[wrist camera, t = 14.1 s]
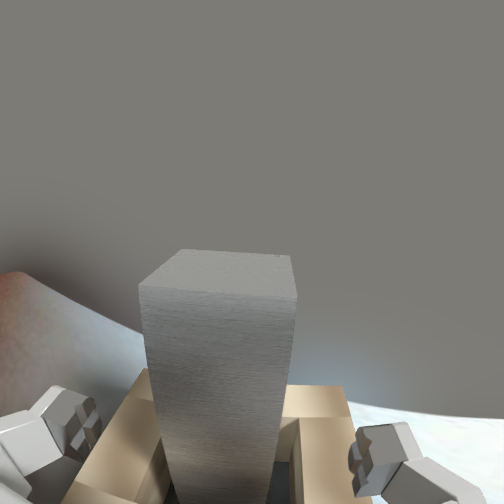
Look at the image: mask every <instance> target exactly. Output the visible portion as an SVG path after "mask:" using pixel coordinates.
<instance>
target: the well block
mask: <svg viewBox="0 0 504 504" xmlns="http://www.w3.org/2000/svg"><path fill="white" fill-rule="evenodd" d="M355 434H356V433H355V429H354V426H353V422H352V418H351V415H350V411H349V407H348V404H347V400H346V397H345V393H344V390H343V386H308V385H287V386H286V393H285V399H284V406H283V412H282V418H281V425H280V431H279V436H278V442H277V448H276V454H275V459H274V461H278V462H289V504H373V503H372V499H371V496H368V497H359V498H355V497H354V492H353V487H352V480H353V478H354V476H355V475H354V474H352V473H351V472H350V471H349V467H348V453H349V449H350V446H351V444H352V443H354V442H355V441H356V437H355ZM171 480H172V478H171V474H170V471H169V467H168V463H167V459H166V455H165V451H164V447H163V443H162V439H161V434H160V430H159V425H158V421H157V416H156V411H155V406H154V400H153V395H152V389H151V384H150V378H149V371H148V369H146V368H144V369H143V370H142V372H141V373H140V375H139V377H138V378H137V380H136V381H135V383H134V384H133V386H132V387H131V389H130V391H129V392H128V394H127V395H126V397H125V398H124V400H123V402H122V403H121V405H120V406H119V408H118V410H117V411H116V413H115V414H114V416H113V417H112V419H111V421H110V422H109V424H108V425H107V427H106V429H105V430H104V432H103V434H102V435H101V437H100V438H99V440H98V442H97V443H96V445H95V447H94V448H93V450H92V451H91V453H90V455H89V456H88V458H87V460H86V461H85V463H84V465H83V466H82V468H81V470H80V471H79V473H78V475H77V476H76V478H75V480H74V481H73V483H72V485H71V486H70V488H69V490H68V491H67V493H66V495H65V497H64V498H63V500H62V502H61V503H60V504H164V502H165V499H166V496H167V493H168V490H169V486H170V483H171Z"/></svg>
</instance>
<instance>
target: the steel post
mask: <svg viewBox="0 0 504 504" xmlns="http://www.w3.org/2000/svg"><path fill="white" fill-rule="evenodd" d="M139 296H140V308H141V318H142V327H143V336H144V344H145V351H146V358H147V365H148V371H149V378H150V384H151V389H152V395H153V400H154V406H155V411H156V416H157V421H158V425H159V430H160V434H161V439H162V443H163V447H164V451H165V455H166V459H167V463H168V467H169V471H170V474H171V478H172V481H173V485H174V488H175V492H176V495H177V498H178V501H179V504H266V500H267V495H268V490H269V485H270V480H271V475H272V470H273V464H274V459H275V454H276V448H277V442H278V436H279V431H280V425H281V418H282V412H283V406H284V399H285V393H286V386H287V379H288V372H289V364H290V357H291V350H292V342H293V333H294V326H295V317H296V308H297V299H298V297H297V292H296V286H295V281H294V276H293V271H292V266H291V261H290V256H285V255H269V254H254V253H238V252H223V251H206V250H191V249H182V250H180V251H179V252H178V253H176V254H175V255H174V256H173V257H171V258H170V259H169V260H168V261H167V262H165V263H164V264H163V265H162V266H160V267H159V268H158V269H157V270H156V271H154V272H153V273H152V274H151V275H149V276H148V277H147V278H146V279H145V280H144V281H142V282H141V283H140V284H139Z"/></svg>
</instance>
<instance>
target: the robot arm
mask: <svg viewBox="0 0 504 504" xmlns="http://www.w3.org/2000/svg"><path fill="white" fill-rule="evenodd" d="M95 407H96V405H95V402H94V399H92V398H90V397H88V396H85V395H82V394H79V393H76V392H73V391H71V390H68V389H65V388H62V387H60V386H57V385H54V386H52V387H51V388H50V389H49V390H48V391H47V392H46V393H45V394H44V395H43V396H42V397H41V398H40V399H39V400H38V401H37V402H36V404H35V405H34V406H33V407H32V408H31V409H30V410H29V411H27V410H23V411H20V412H17V413H14V414H10V415H7V416H4V417H1V418H0V504H33V503H31V502H30V501H28V500H27V499H26V498H27V497H28V495H29V494H30V492H31V491H32V488H31V485H30V484H29V483H28V482H27V481H26V479H25V478H24V477H25V476H27V475H29V474H31V473H32V472H34V471H36V470H38V469H40V468H42V467H44V466H46V465H47V464H49V463H51V462H53V461H55V460H56V459H58V458H60V457H62V456H63V455H64V456H67V457H69V458H72V459H74V460H77V461H80V462H82V463H83V462H84V461H85V459H86V457H87V456H88V454H89V452H90V451H91V446H90V444H91V443H93V442H95V441H97V439H98V438H99V436H100V433H101V429H102V424H101V419H100V416H99V415H98V414H97V413H96V412H95V411H94V409H95ZM355 437H356V441H355V442H354V443H352V444H351V446H350V449H349V453H348V467H349V471H350V472H351V473H352V474H354V475H355V476H354V478H353V480H352V487H353V492H354V497H355V498H359V497H368V496H375V495H381V497H382V498H383V499H384V500H385V501H386V502H387V503H388V504H487V502H486V500H485V498H484V496H483V494H482V492H481V490H480V488H478V487H476V486H475V485H473V484H471V483H470V482H468V481H466V480H464V479H463V478H461V477H459V476H458V475H456V474H454V473H453V472H451V471H449V470H448V469H446V468H444V467H443V466H441V465H440V464H438V463H436V462H435V461H433V460H432V459H430V458H428V457H425V458H423V456H422V453H421V451H420V449H419V447H418V445H417V442H416V440H415V438H414V436H413V434H412V432H411V430H410V427H409V425H408V423H406V422H399V423H391V424H382V425H374V426H363V427H359V428H358V429H357V431H356V434H355Z"/></svg>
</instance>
